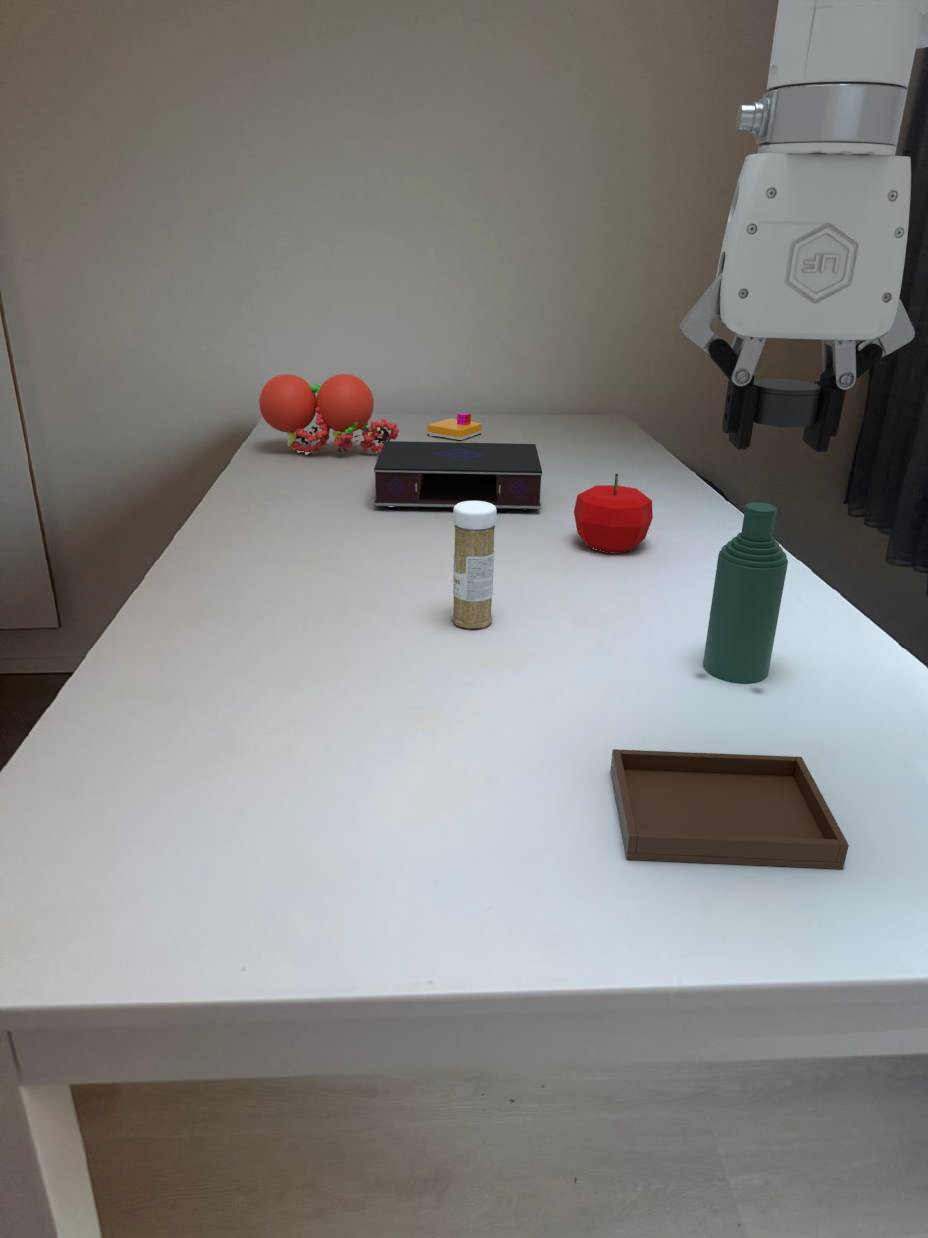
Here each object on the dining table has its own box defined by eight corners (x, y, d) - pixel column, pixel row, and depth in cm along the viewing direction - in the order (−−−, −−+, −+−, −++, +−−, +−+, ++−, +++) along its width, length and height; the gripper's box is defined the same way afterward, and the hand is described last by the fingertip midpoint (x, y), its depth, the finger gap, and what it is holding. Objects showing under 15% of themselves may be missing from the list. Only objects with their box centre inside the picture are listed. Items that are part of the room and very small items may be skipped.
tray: (797, 778, 74) (801, 756, 73) (843, 869, 64) (849, 845, 63) (610, 770, 74) (612, 748, 73) (626, 859, 64) (629, 835, 63)
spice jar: (448, 614, 102) (450, 499, 97) (488, 612, 103) (492, 498, 97) (455, 631, 98) (457, 512, 93) (496, 629, 99) (500, 511, 93)
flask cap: (826, 421, 59) (833, 385, 58) (797, 431, 56) (804, 393, 55) (764, 411, 61) (770, 376, 60) (734, 420, 58) (739, 383, 57)
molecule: (256, 461, 161) (249, 372, 158) (271, 461, 172) (265, 377, 169) (396, 455, 160) (391, 365, 157) (402, 455, 171) (398, 371, 168)
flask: (759, 655, 94) (786, 497, 87) (775, 684, 88) (806, 518, 81) (697, 653, 95) (719, 495, 88) (709, 682, 89) (734, 516, 82)
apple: (575, 530, 130) (580, 461, 126) (650, 536, 128) (657, 467, 124) (567, 555, 121) (572, 482, 117) (648, 562, 119) (656, 488, 115)
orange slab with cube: (460, 441, 179) (460, 419, 177) (427, 435, 183) (427, 414, 181) (481, 434, 185) (482, 413, 183) (449, 428, 189) (449, 408, 187)
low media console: (540, 514, 136) (542, 471, 134) (374, 511, 137) (373, 468, 134) (533, 482, 152) (535, 443, 150) (385, 479, 152) (384, 440, 150)
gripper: (691, 120, 49) (654, 455, 56) (1012, 126, 48) (931, 465, 55) (670, 131, 55) (639, 429, 63) (950, 137, 55) (885, 437, 62)
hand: (776, 443), depth 59 cm, fingers closed on flask cap, 4 cm apart
